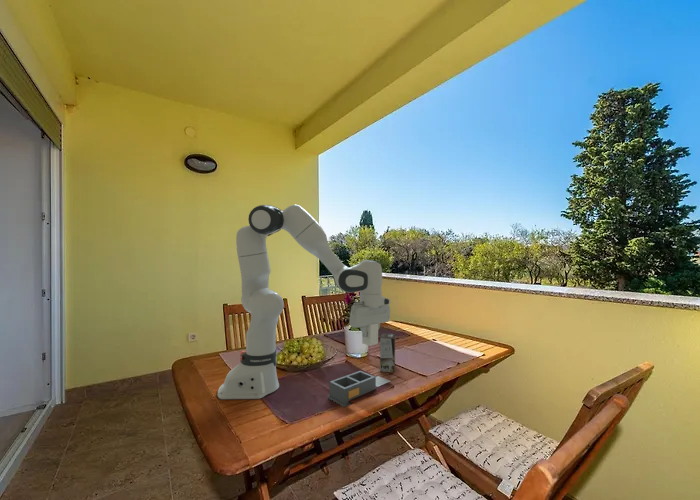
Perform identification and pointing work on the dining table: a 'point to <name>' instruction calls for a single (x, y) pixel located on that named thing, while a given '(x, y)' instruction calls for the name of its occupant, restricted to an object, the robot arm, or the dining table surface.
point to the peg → (371, 335)
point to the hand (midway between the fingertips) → (370, 335)
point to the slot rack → (353, 387)
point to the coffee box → (387, 352)
